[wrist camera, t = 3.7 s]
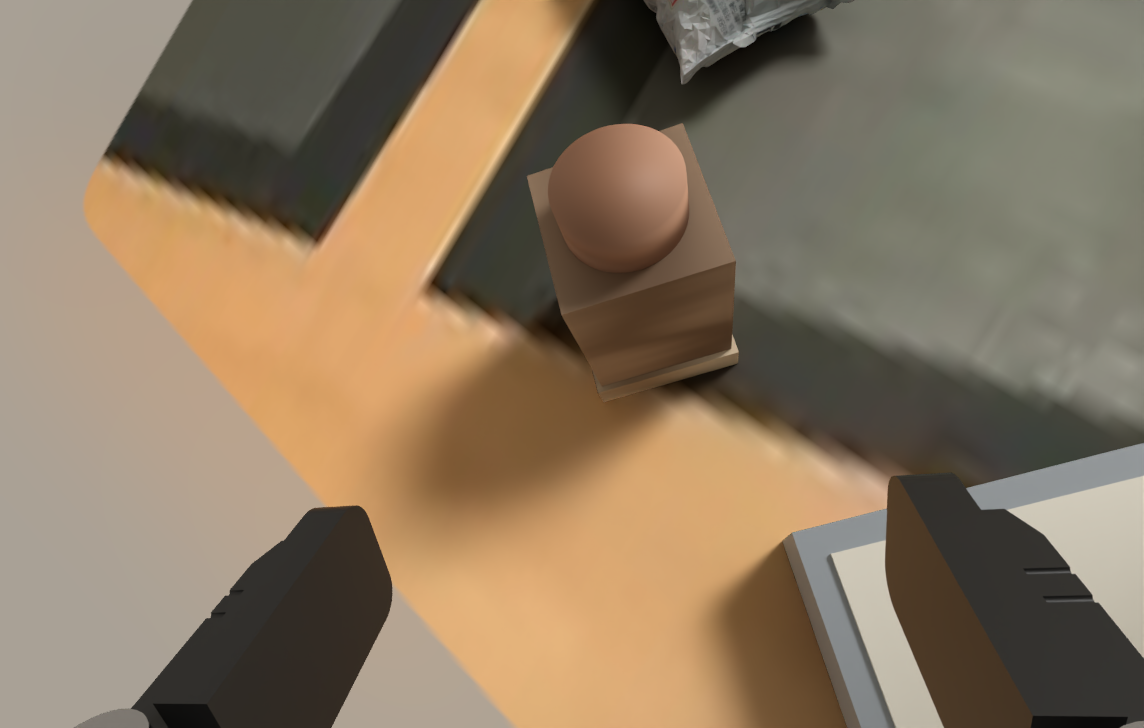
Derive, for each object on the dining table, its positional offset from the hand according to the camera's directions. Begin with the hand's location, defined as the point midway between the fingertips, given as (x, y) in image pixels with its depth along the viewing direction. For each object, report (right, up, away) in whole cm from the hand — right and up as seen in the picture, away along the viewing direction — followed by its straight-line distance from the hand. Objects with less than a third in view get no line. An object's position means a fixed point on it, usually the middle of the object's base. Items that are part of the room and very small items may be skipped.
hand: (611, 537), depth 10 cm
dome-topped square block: (+3, +4, +15) cm, 16 cm away
